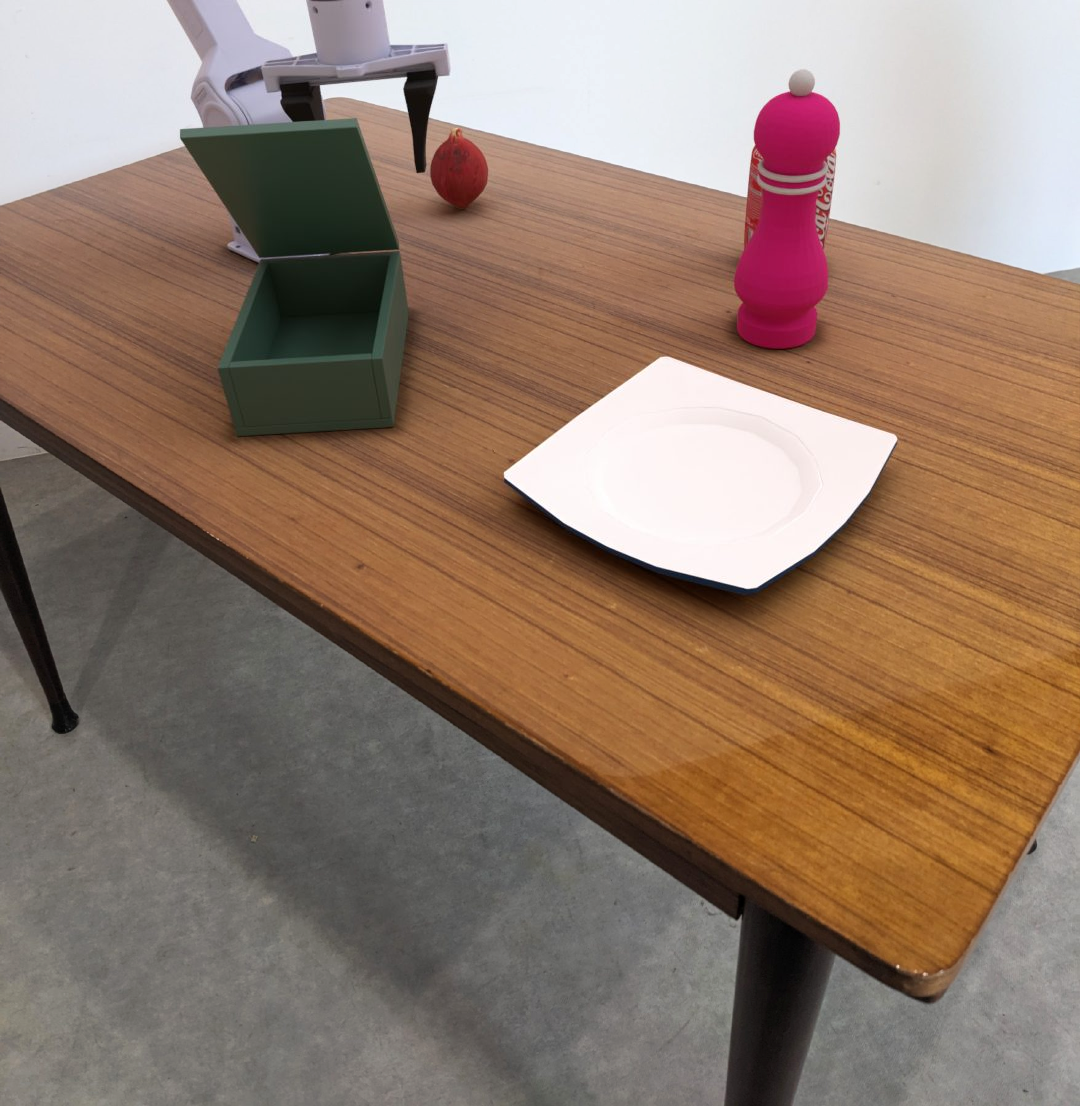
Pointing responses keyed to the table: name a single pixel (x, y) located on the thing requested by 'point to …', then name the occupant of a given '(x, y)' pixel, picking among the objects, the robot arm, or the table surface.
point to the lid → (296, 186)
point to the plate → (704, 476)
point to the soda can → (756, 199)
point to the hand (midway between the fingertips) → (375, 173)
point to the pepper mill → (787, 219)
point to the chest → (317, 345)
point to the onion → (458, 170)
